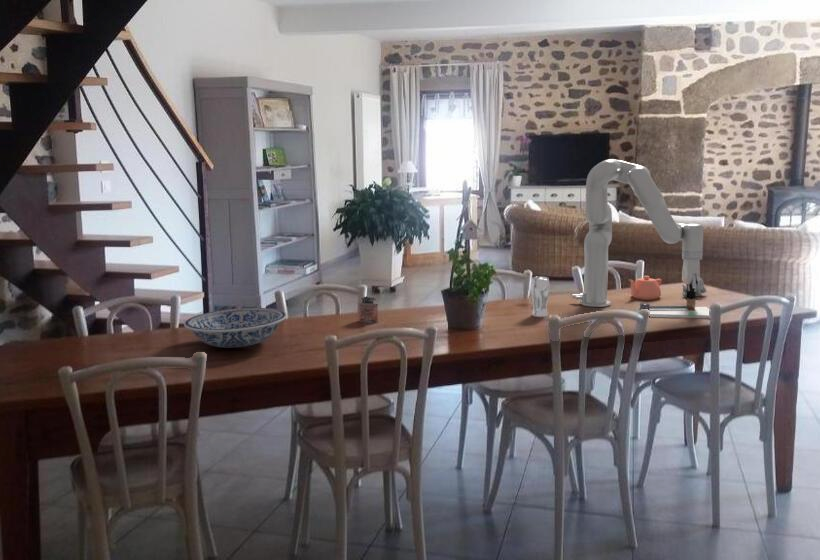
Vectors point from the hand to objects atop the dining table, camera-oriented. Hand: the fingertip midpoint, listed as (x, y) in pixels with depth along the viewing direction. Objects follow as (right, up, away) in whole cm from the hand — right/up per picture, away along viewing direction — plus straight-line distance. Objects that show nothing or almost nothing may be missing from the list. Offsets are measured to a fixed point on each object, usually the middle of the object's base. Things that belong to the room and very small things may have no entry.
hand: (690, 300), depth 300 cm
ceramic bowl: (-171, -14, -41) cm, 177 cm away
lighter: (-128, -8, -10) cm, 128 cm away
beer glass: (-61, -6, -4) cm, 61 cm away
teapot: (-10, 0, +27) cm, 29 cm away
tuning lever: (-10, -3, -2) cm, 11 cm away
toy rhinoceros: (+11, +1, +28) cm, 30 cm away
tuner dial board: (-7, -5, -4) cm, 9 cm away
